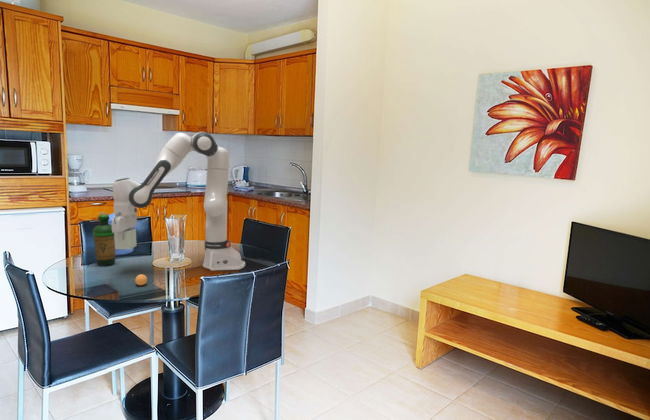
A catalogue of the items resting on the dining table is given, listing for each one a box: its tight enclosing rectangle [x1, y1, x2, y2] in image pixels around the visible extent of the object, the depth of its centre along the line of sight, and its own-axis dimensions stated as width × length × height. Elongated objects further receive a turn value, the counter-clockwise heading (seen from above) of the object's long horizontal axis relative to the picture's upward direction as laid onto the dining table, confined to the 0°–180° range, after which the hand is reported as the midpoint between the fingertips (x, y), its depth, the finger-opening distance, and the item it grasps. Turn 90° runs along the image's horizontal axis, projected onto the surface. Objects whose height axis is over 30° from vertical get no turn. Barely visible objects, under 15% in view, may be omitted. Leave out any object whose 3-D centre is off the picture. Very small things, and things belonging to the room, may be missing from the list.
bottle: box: [92, 211, 116, 267], centre depth 217 cm, size 11×11×28 cm
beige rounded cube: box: [114, 228, 138, 249], centre depth 206 cm, size 7×7×9 cm
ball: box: [134, 273, 148, 286], centre depth 190 cm, size 5×5×5 cm
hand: (125, 238), depth 206 cm, fingers closed on beige rounded cube, 7 cm apart
